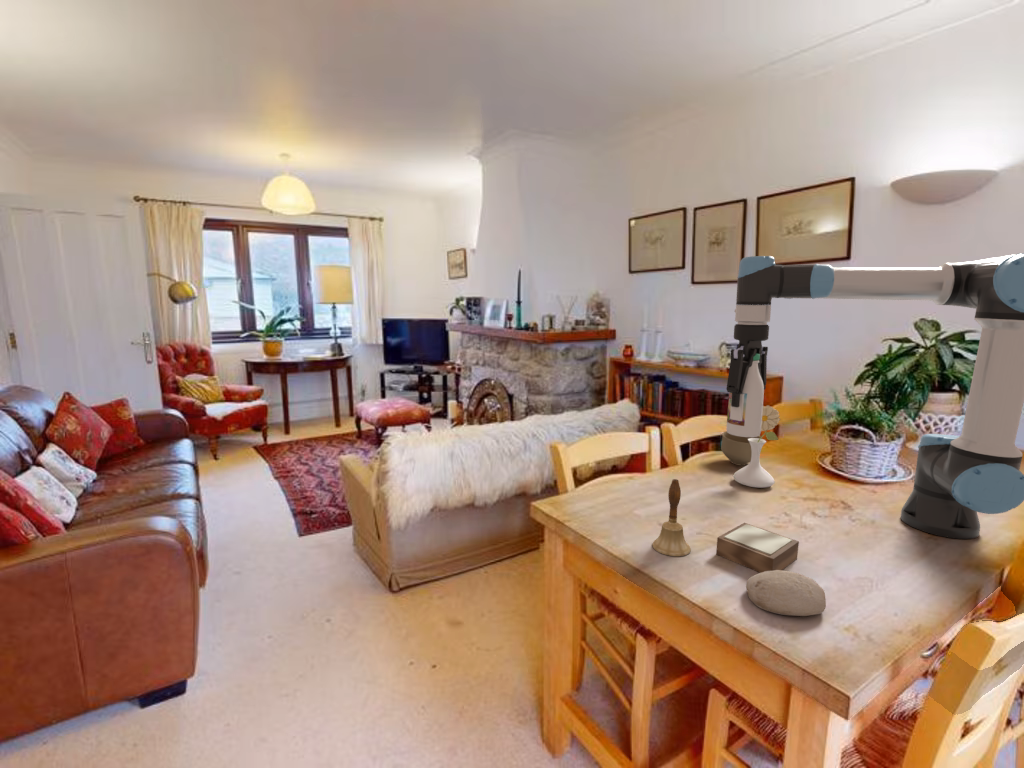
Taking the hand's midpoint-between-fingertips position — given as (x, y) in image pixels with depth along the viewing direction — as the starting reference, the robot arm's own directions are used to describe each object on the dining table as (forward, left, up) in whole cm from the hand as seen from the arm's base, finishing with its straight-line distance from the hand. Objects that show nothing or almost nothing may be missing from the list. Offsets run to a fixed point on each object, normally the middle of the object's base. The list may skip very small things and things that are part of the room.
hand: (744, 417), depth 125 cm
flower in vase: (+9, -29, -27) cm, 41 cm away
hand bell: (+2, +25, -27) cm, 37 cm away
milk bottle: (0, 0, -4) cm, 4 cm away
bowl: (+22, -45, -27) cm, 57 cm away
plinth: (-12, +14, -27) cm, 33 cm away
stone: (-23, +27, -27) cm, 45 cm away
